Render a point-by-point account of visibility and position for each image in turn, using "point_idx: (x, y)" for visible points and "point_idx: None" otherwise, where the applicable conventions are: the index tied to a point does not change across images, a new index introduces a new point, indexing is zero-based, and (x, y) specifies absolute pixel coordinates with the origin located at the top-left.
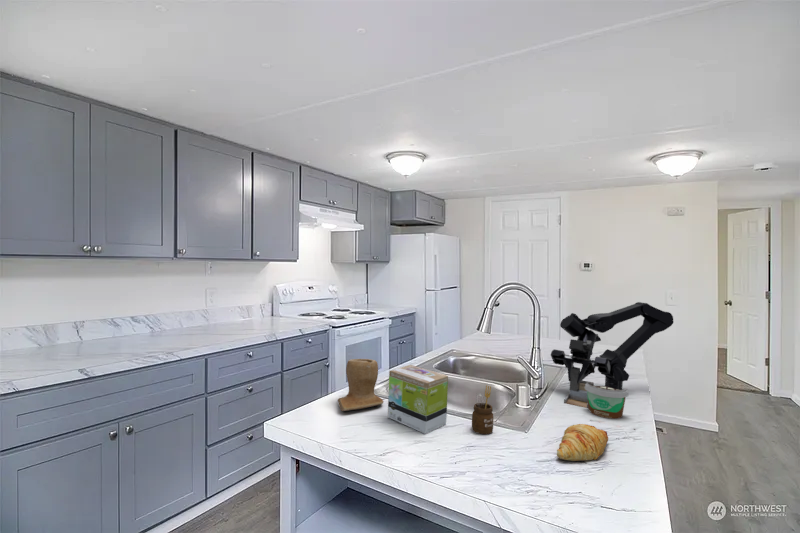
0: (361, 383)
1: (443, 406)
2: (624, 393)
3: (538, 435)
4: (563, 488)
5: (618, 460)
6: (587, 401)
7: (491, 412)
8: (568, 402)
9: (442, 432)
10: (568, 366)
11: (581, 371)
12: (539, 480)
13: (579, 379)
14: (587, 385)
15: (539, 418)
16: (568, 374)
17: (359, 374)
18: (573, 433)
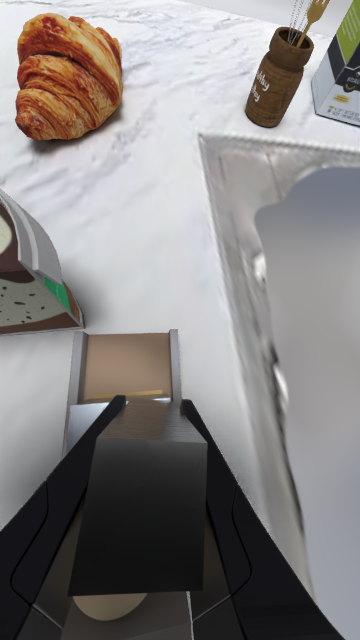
0: None
1: (347, 50)
2: None
3: (175, 131)
4: (100, 22)
5: (12, 94)
6: (87, 399)
7: (271, 60)
8: (162, 351)
9: (299, 93)
10: (266, 558)
11: (60, 507)
12: (132, 29)
13: (104, 410)
14: (25, 227)
15: (203, 207)
16: (208, 436)
17: None
18: (89, 32)
